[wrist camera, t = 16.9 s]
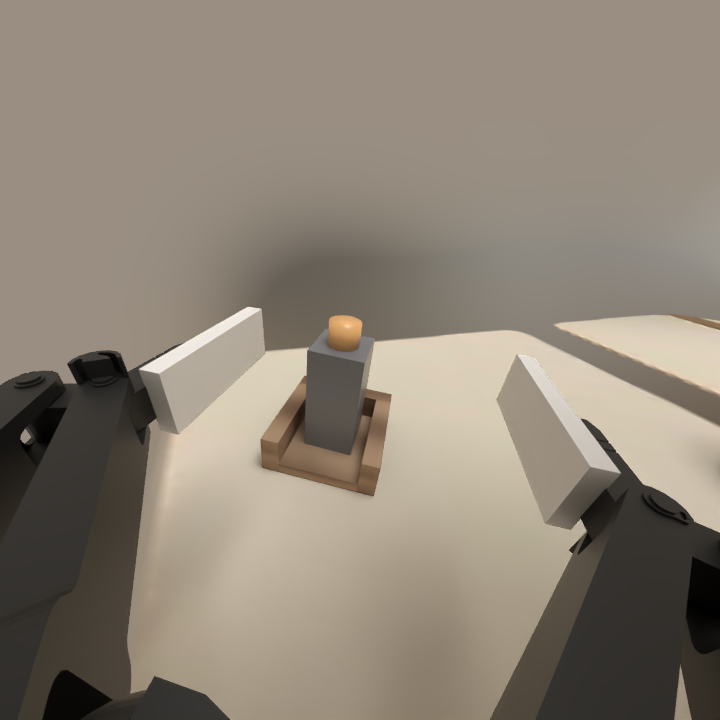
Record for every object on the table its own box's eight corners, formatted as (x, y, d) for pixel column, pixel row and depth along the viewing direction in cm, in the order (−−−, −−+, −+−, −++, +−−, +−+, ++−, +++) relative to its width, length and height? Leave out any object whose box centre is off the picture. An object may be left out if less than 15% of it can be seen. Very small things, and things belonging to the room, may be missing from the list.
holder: (373, 495, 23) (380, 468, 21) (262, 467, 24) (260, 438, 22) (386, 418, 32) (391, 394, 30) (304, 399, 33) (304, 375, 31)
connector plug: (350, 455, 25) (368, 338, 19) (304, 443, 26) (308, 326, 20) (360, 423, 29) (378, 317, 23) (320, 413, 30) (327, 307, 24)
